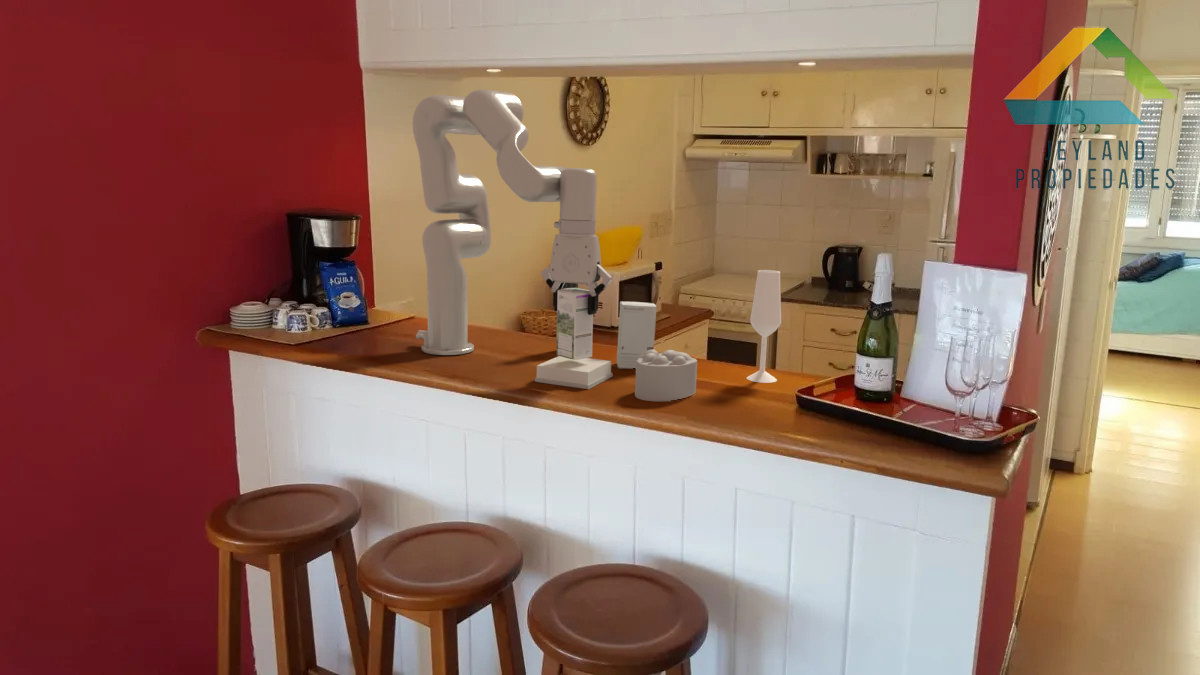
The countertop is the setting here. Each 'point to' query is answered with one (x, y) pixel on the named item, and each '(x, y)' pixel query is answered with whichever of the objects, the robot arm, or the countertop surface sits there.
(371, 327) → the countertop surface
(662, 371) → the lumpy-topped squat cylinder
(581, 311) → the syrup box
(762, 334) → the champagne flute
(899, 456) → the countertop surface
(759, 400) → the countertop surface
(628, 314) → the skincare box
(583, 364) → the cream square tile
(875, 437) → the countertop surface
